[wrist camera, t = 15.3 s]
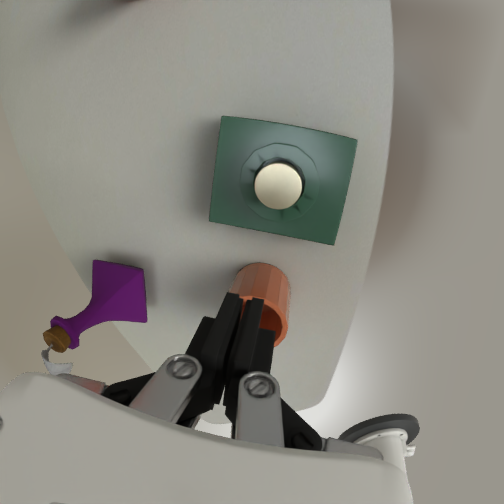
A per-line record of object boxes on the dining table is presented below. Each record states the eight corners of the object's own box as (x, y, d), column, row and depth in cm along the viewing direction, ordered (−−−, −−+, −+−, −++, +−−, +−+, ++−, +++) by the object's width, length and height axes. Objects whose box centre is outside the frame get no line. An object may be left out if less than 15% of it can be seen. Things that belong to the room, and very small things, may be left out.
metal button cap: (305, 165, 22) (306, 168, 20) (296, 207, 23) (297, 213, 21) (261, 157, 22) (258, 159, 20) (254, 199, 23) (251, 204, 21)
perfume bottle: (113, 296, 36) (36, 378, 20) (106, 249, 33) (9, 324, 17) (157, 309, 36) (86, 408, 19) (154, 259, 33) (59, 354, 16)
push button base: (351, 139, 24) (362, 139, 19) (330, 234, 28) (336, 253, 24) (229, 118, 25) (215, 113, 20) (217, 213, 29) (202, 227, 25)
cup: (295, 269, 30) (294, 304, 24) (283, 317, 33) (279, 356, 26) (236, 257, 31) (220, 289, 24) (230, 306, 33) (215, 343, 27)
